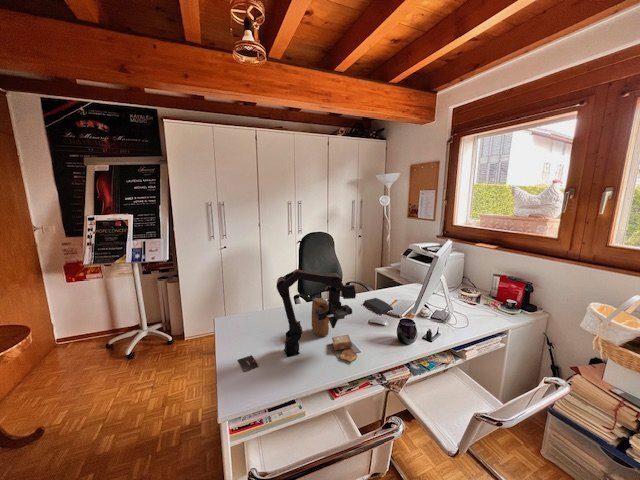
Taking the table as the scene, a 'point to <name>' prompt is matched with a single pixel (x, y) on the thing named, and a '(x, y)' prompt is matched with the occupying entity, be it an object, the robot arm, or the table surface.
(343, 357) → the shard
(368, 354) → the table surface
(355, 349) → the mat
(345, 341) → the slab
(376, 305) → the external hard drive
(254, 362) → the solid state drive
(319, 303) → the brown oblong lump
